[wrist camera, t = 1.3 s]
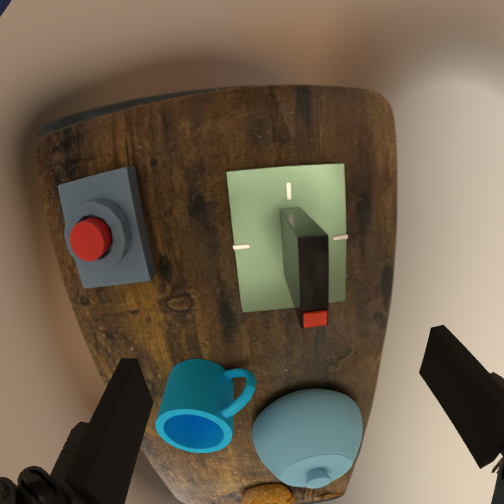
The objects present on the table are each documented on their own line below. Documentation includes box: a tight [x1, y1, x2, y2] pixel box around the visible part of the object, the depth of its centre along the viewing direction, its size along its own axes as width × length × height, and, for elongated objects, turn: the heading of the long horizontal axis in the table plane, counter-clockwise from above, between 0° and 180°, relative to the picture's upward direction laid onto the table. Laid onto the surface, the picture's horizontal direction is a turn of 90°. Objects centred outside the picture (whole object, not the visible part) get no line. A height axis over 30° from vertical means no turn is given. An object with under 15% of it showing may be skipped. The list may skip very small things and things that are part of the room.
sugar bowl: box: [252, 388, 363, 488], centre depth 32 cm, size 15×15×12 cm
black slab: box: [279, 207, 329, 328], centre depth 22 cm, size 6×2×9 cm, turn 5°
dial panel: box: [226, 162, 348, 312], centre depth 28 cm, size 13×10×3 cm
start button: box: [70, 217, 111, 261], centre depth 24 cm, size 4×4×2 cm
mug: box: [156, 359, 257, 453], centre depth 31 cm, size 12×8×8 cm
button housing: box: [58, 166, 156, 288], centre depth 27 cm, size 11×8×4 cm
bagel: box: [241, 484, 295, 504], centre depth 43 cm, size 10×11×5 cm
